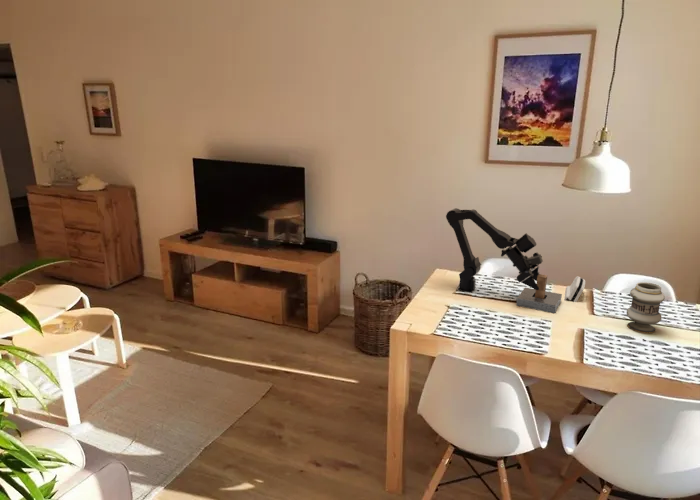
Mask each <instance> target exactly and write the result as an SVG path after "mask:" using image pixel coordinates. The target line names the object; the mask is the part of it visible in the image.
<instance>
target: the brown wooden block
mask: <svg viewBox="0 0 700 500" xmlns="http://www.w3.org/2000/svg"><path fill="white" fill-rule="evenodd" d="M547 281H548V275H547V274H542V273H541V274H540V273H539V275H538V276H537V281H536V284H537V286H538V288H539V290H536V292H535V297H536V298H541V299H544V298H545V291H546V289H547Z"/></svg>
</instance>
